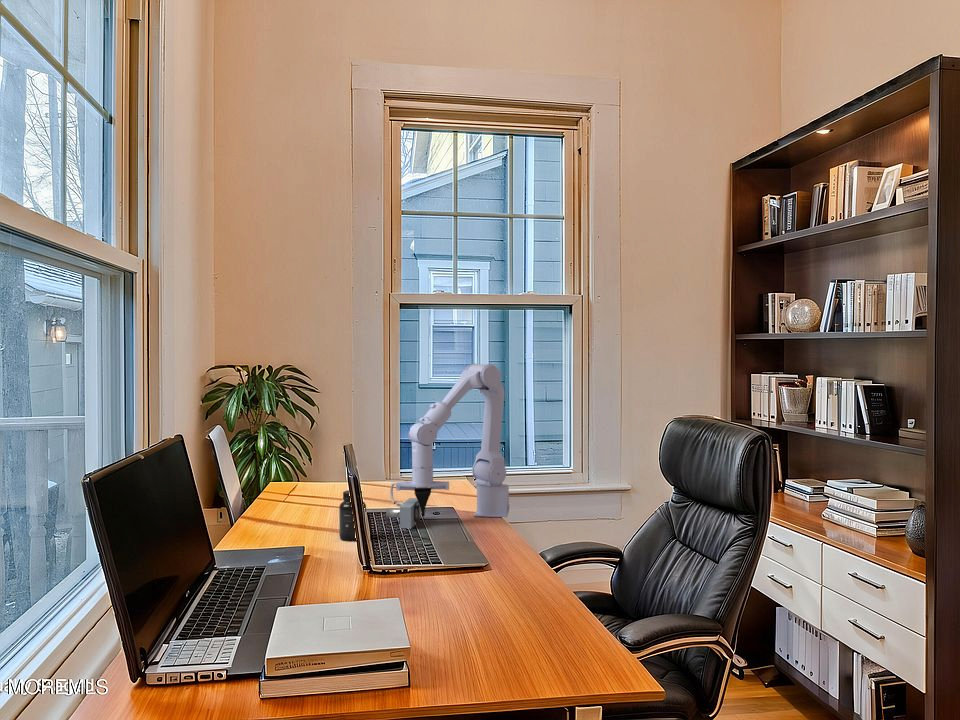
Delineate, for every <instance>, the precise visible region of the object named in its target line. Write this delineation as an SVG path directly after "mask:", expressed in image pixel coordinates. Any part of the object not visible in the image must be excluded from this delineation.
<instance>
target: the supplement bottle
mask: <svg viewBox="0 0 960 720" xmlns="http://www.w3.org/2000/svg"><path fill="white" fill-rule="evenodd" d="M349 490H350V489H348V490H344V491H343V492H342V496H343V497H342V500H343V501H342V502H341V503H340V504H339V506H338V508H339V509H338V518H339V519H338V520H339V524H338V525H339V526H338V527H339V529H338V531H339V539H340V540H342V541H345V542H357V541H356V538H355V528H354V521H353V514H352V507H351V502H350V496H349ZM360 491H361V493H362V494H363V491H362V490H360ZM363 504H364V508H365V512H366V513H367V504H366V503H365V502H364V501H363Z"/></svg>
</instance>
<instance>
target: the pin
mask: <svg viewBox="0 0 960 720" xmlns="http://www.w3.org/2000/svg"><path fill="white" fill-rule="evenodd" d="M385 516H386V517H387V518H400V509H397V508H394V507H393V508H391V507H389V508H386V511H385ZM421 517H422V516H421V508H420V505H415V507H414V521H415V522H417V523H420V520H421Z"/></svg>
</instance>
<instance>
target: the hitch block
mask: <svg viewBox="0 0 960 720" xmlns="http://www.w3.org/2000/svg"><path fill="white" fill-rule="evenodd" d="M415 505H419V502H418V500H417V498H416V497H409V498H408V499H406V501H405V502H404V504H403V505H399V508H400V517H399V529H400V528H407V529H408V528H410V529H411V528H412V527H413V525H414V524H415V523H416V522H415V521H414V507H415ZM416 524H417V523H416ZM416 524H415V525H416ZM415 525H414V526H415ZM413 528H414V527H413ZM413 528H412V529H413ZM412 529H411V530H412Z"/></svg>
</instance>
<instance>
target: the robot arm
mask: <svg viewBox="0 0 960 720" xmlns="http://www.w3.org/2000/svg"><path fill="white" fill-rule="evenodd" d="M502 382H503V381H502V371H501V370H500V369H499V368H498V367H497V366H496V365H494V364H491V363H487V364H486V363H485V364H479V363H471V364H468V366H466V368H465V369H464V370H463V371H461V373H460V376H459V378H458V380H456V382H455V384H454V385H453V386H452V388H451V389H450V390H449V392H448V393H447V394H446V395H445V397H444V398H443V399H442V401H437V402H436V401H435V403H431V404H430V405H429V409H428V410H427V412H426V413H424V415H423V417H420V418H419V420H418V421H419V422H416V423H414V424H412V425H411V426H410V427H409V428H410V429H409V432H408V433H407V438H408V439H409V441H410V442H411V463H412V465H411V467H412V468H411V471H412V472H411V474H412V475H411V476H412V477H411V478H412V480H411V481H400V482H399V481H397V482H395V483H396V485H395V487H396V489H395V491H397V492H398V491H414V495H415V498H417V500H418V502H419V505H420V508H421V512H422V513H421V516H420V517H422V518H423V517H425V515H426V514H425V513H426V507H427V504H428V502H429V501H428V500H429V498H430V496H431V494H432V490H445V491H447V490H448V491H449V490H450V481H439V480H434V454H433V452H434V450H433V449H434V448H433V447H434V446H433V445H434V442H436V441H437V438H438V433H439V430H441V428H442V427H443V426H444V425H445V423H447V421H448V420H449V419H450V417H451V416H452V409H453V408H454V407H455V406H456V405H457V404H458V403H459V402H460V400H462V399H463V397H464V396H466V395H467V393H468V392H469V391H471V390H475V389H476V390H477V389H478V391H480V392H481V394H482V395H483V396H484V397H485V398H484V406H483V407H484V409H483V420H482V433H481V434H482V435H481V445H480V446H481V447H480V450H479V451H478V453H477V454H475V461H474V463H473V465H472V468H471V473H472V476H473V478H474V479H475V483H476V511H475V512H474V514H473V517H480V518H481V517H485V518H486V517H487V518H488V517H489V518H507V517H508V515H509V513H510V512H509V511H510V501H509V500H510V495H509V493H510V489H509V484H505V483H504V484H503V482H504V481H505V479H506V477H507V469H506V465H505V458H504V456H503V455H502V453H501V452H500V449H501V441H502V439H501V438H502V436H501V435H502V428H503V427H502V424H503V415H504V414H503V413H504V402H505V389H504V386H503V383H502Z"/></svg>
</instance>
